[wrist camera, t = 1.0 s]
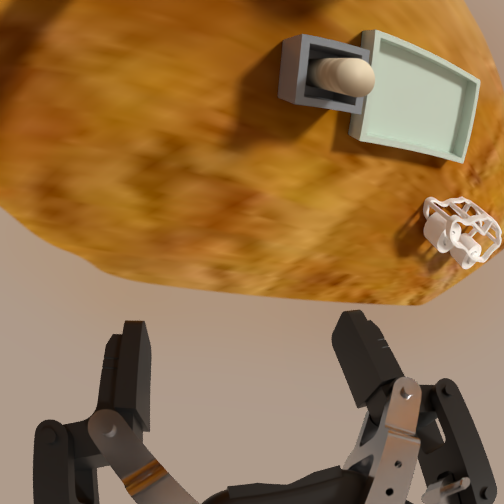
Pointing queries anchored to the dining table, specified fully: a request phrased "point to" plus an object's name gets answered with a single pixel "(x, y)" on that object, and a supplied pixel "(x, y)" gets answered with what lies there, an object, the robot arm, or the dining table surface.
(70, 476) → the robot arm
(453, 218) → the white wireframe roller cage
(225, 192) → the dining table surface
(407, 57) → the tray
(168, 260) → the dining table surface
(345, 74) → the dowel pin
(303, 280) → the dining table surface
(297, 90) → the deep cup
